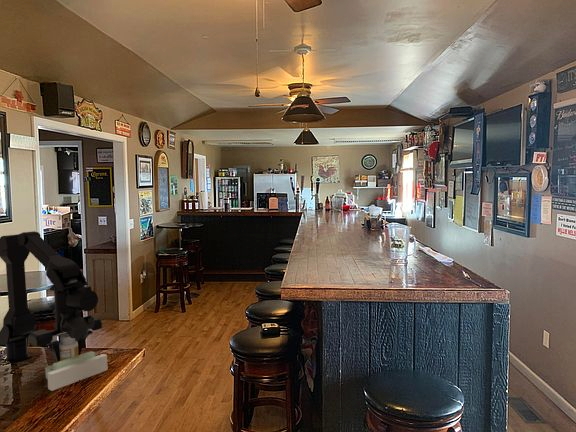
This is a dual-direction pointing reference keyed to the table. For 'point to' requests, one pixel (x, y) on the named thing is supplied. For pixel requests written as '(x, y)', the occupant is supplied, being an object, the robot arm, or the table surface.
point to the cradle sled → (69, 361)
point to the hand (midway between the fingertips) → (68, 359)
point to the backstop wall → (77, 372)
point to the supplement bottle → (67, 347)
